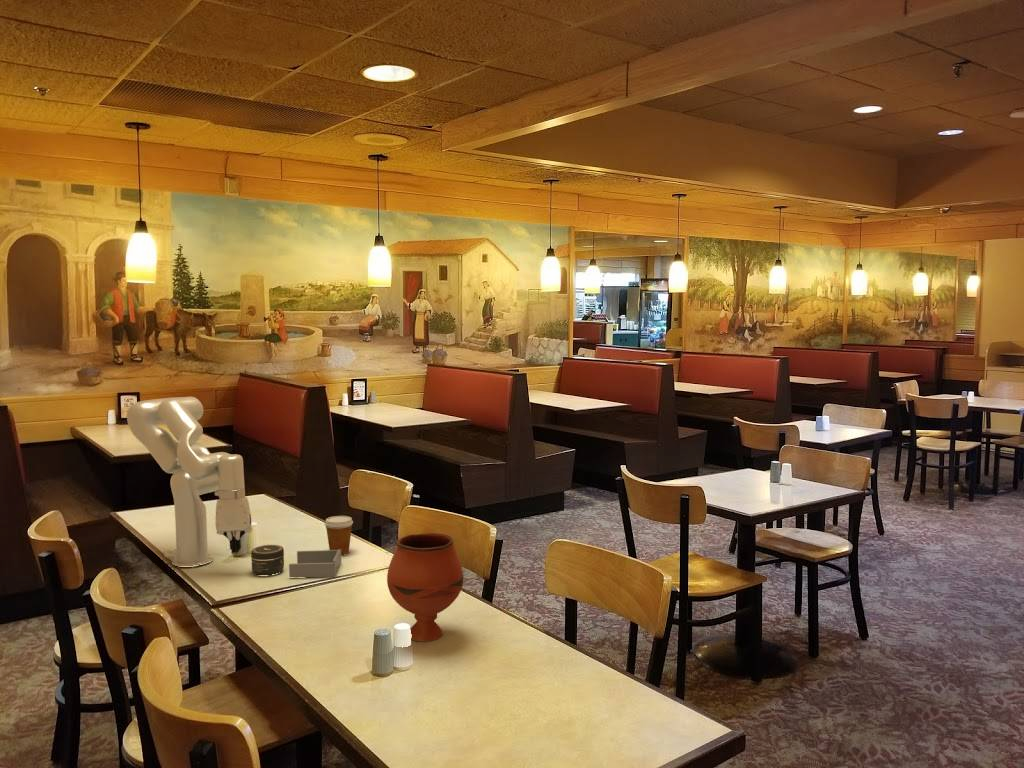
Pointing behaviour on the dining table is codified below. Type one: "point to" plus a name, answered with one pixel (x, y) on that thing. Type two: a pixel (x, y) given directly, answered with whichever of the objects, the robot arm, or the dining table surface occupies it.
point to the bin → (316, 563)
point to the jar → (267, 559)
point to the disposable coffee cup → (339, 533)
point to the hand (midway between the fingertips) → (235, 551)
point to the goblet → (425, 580)
